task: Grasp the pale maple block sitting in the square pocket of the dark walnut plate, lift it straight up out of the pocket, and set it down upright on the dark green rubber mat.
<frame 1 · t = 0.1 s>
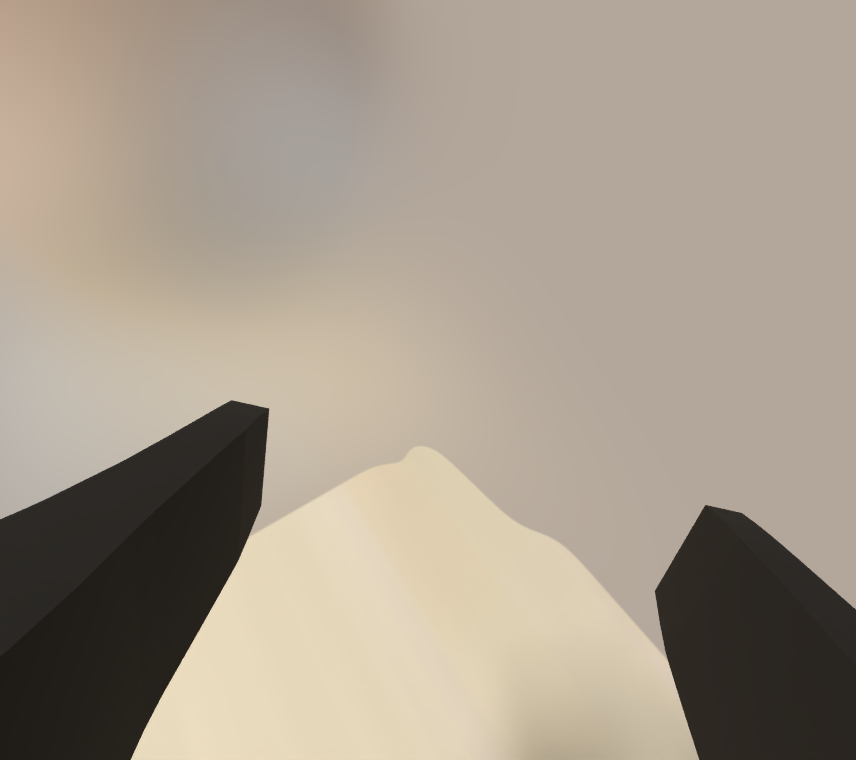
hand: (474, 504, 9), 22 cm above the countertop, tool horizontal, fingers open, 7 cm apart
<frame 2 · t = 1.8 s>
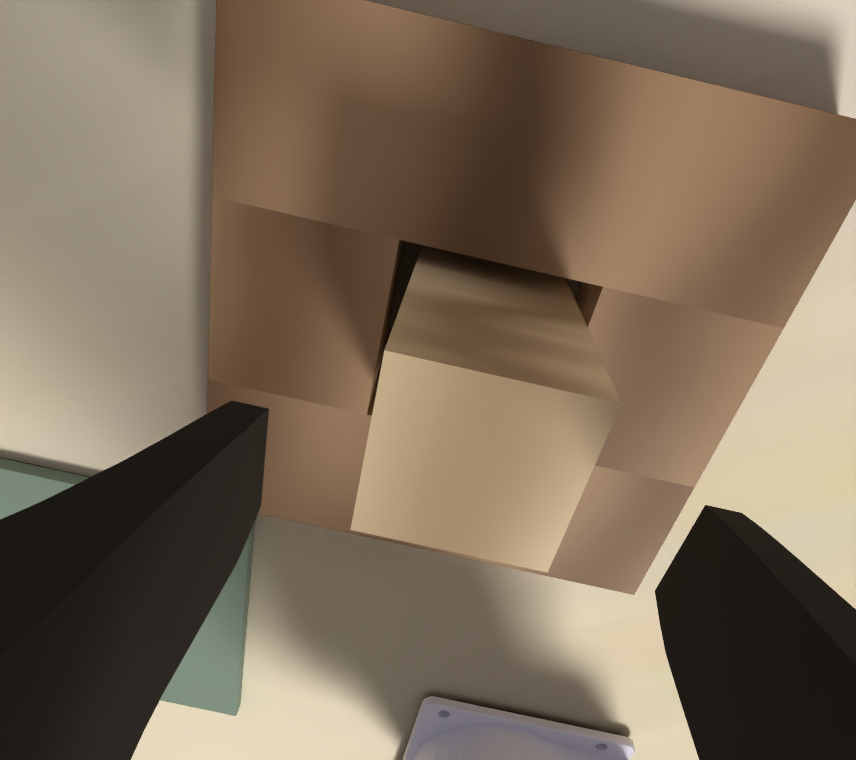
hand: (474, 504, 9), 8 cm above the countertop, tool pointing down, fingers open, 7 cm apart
rubber mat: (103, 590, 23), on the countertop
pocket plate: (476, 326, 16), on the countertop
maple block: (475, 381, 13), in the pocket plate
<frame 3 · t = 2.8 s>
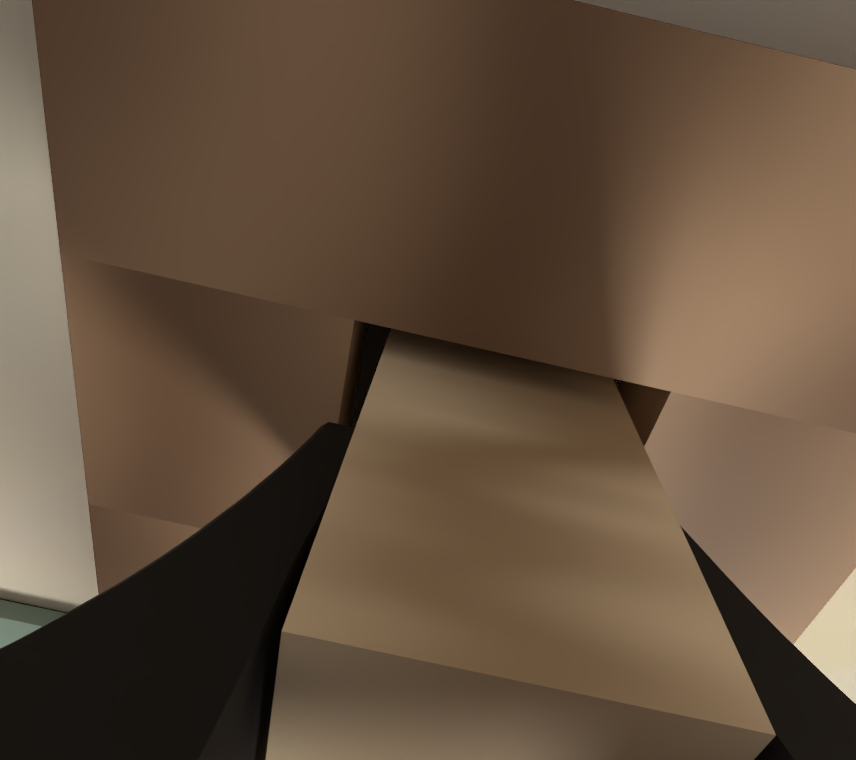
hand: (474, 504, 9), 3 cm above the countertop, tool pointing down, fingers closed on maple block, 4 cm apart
rubber mat: (7, 717, 18), on the countertop
pocket plate: (474, 420, 11), on the countertop
maple block: (473, 543, 8), in the pocket plate, touching gripper
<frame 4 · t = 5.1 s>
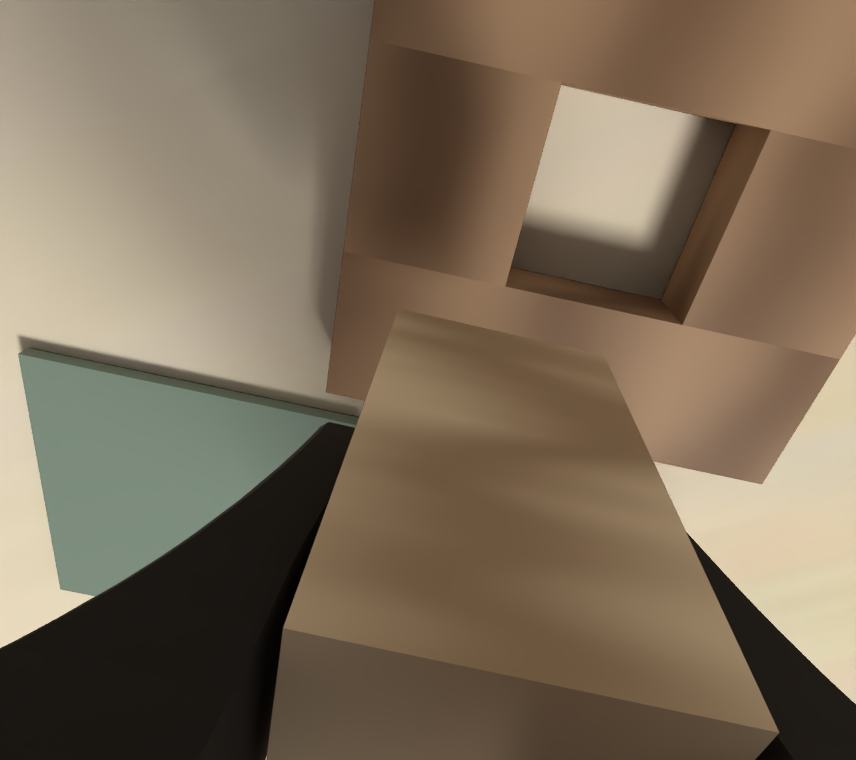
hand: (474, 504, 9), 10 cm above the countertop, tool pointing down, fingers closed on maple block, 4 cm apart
rubber mat: (196, 508, 23), on the countertop
pocket plate: (610, 200, 16), on the countertop
maple block: (474, 541, 8), point 10 cm above the countertop, touching gripper
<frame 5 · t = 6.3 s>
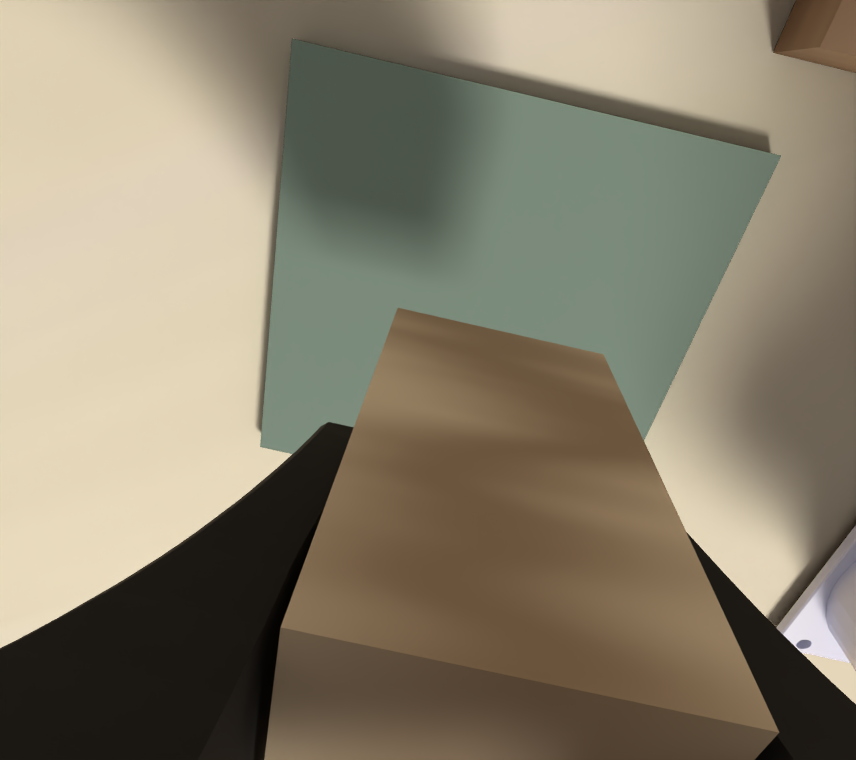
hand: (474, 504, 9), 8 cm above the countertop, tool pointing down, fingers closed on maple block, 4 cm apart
rubber mat: (477, 319, 16), on the countertop
maple block: (473, 540, 8), point 9 cm above the countertop, touching gripper
when the fingers open (4 cm above the countertop, at t = 7.4 s): maple block stays where it is, resting on rubber mat.
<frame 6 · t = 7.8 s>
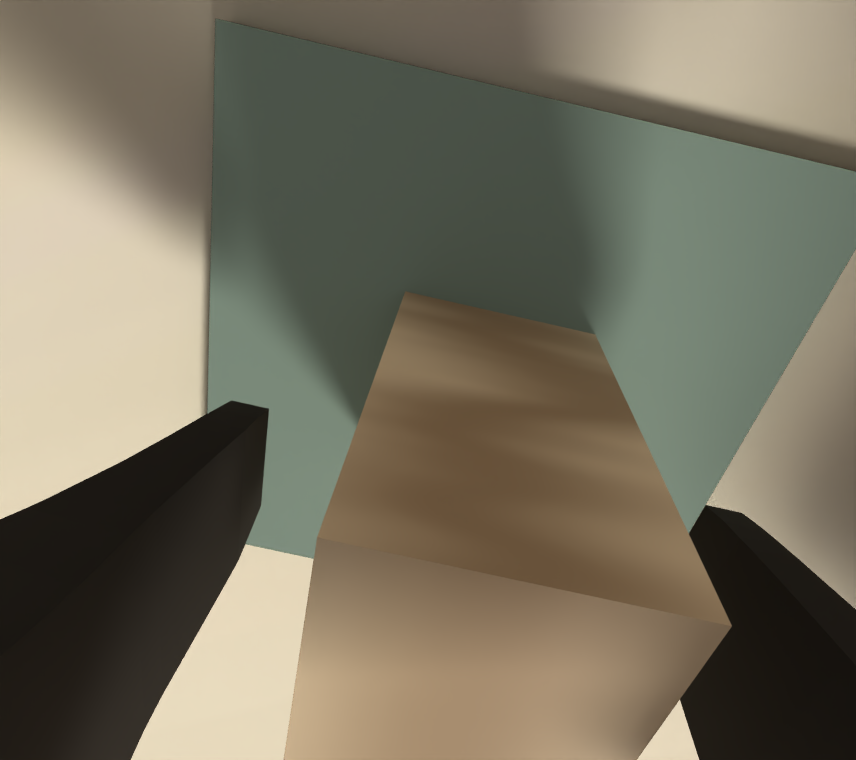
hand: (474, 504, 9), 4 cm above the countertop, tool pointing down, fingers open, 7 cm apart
rubber mat: (475, 386, 13), on the countertop
maple block: (476, 498, 9), on the rubber mat
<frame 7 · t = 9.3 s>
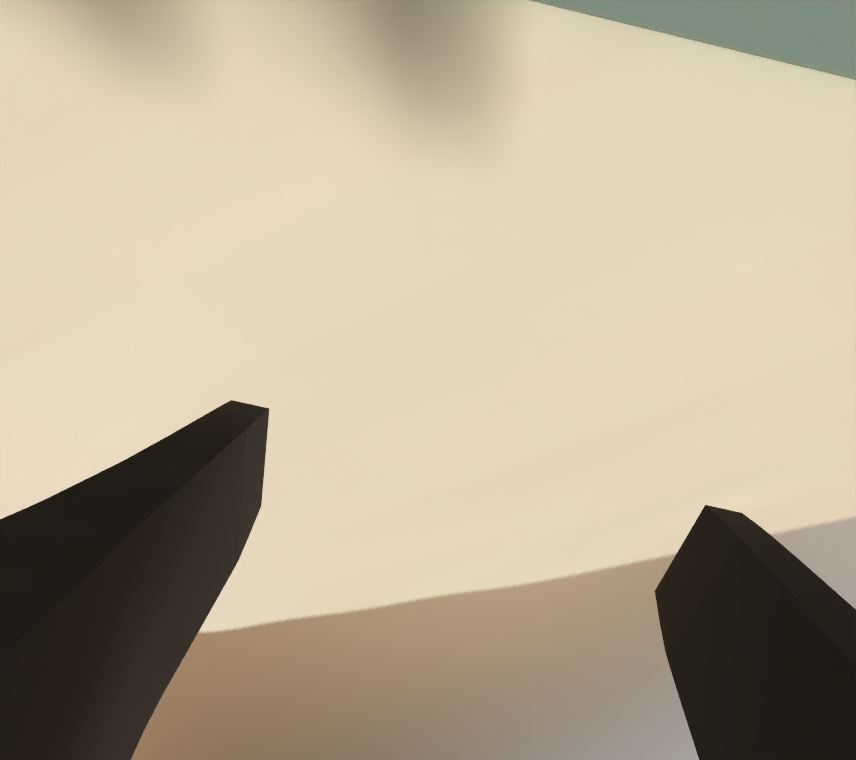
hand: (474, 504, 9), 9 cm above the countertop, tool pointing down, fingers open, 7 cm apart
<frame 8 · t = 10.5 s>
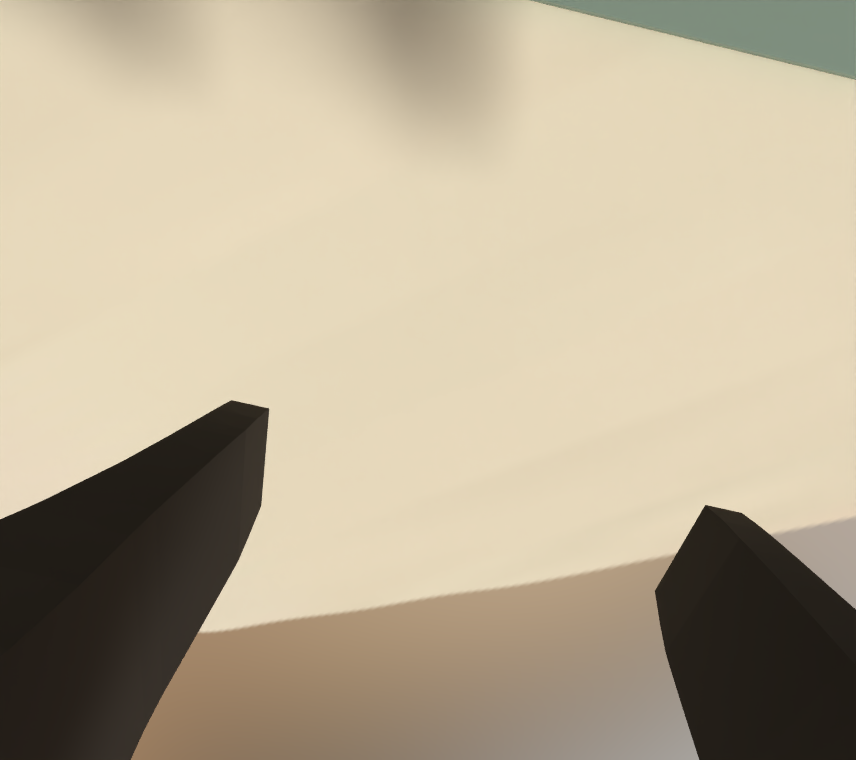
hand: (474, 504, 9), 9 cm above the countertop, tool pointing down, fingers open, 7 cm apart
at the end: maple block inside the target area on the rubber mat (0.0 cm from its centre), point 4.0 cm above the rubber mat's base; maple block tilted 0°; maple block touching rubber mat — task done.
